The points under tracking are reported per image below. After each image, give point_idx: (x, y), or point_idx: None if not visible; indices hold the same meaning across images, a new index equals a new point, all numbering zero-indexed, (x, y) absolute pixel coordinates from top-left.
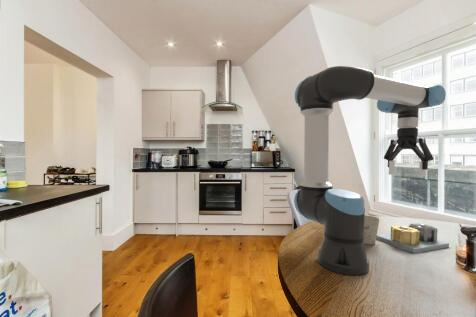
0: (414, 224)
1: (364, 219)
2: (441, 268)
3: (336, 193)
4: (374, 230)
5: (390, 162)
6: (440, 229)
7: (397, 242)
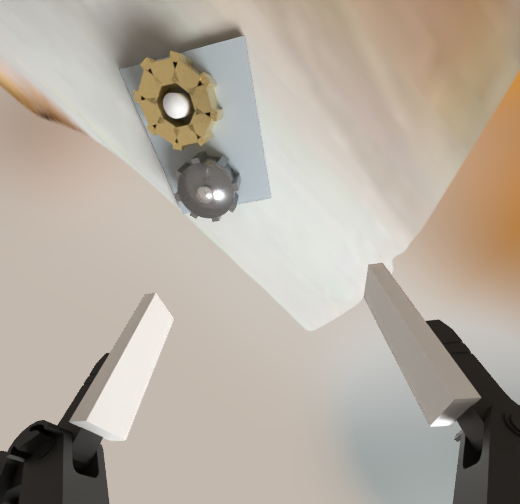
0: (224, 185)
1: None
2: (30, 53)
3: None
4: None
5: (438, 371)
6: (286, 286)
7: None
